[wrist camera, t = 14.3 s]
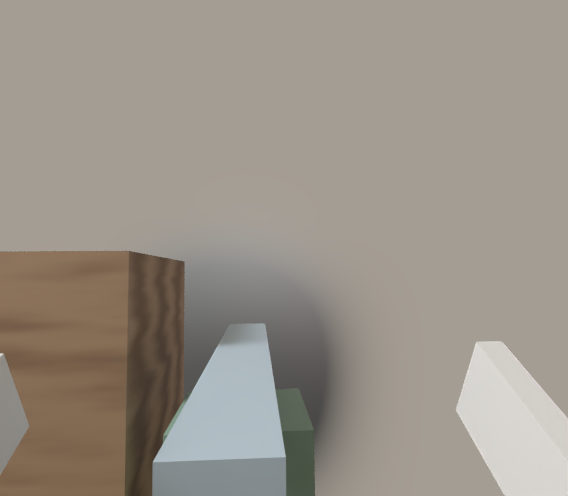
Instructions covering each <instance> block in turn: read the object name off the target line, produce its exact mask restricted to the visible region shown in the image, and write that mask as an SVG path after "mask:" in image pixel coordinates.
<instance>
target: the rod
mask: <svg viewBox="0 0 568 496" xmlns="http://www.w3.org/2000/svg"><path fill="white" fill-rule="evenodd" d="M152 496H286V455H285V449H284V443H283V436H282V430H281V423H280V417H279V411H278V404H277V398H276V392H275V385H274V379H273V372H272V366H271V360H270V353H269V347H268V341H267V335H266V328H265V324H230V325H229V327H228V329H227V331H226V332H225V334H224V336H223V338H222V339H221V341H220V343H219V345H218V347H217V349H216V350H215V352H214V354H213V356H212V358H211V359H210V361H209V363H208V365H207V366H206V368H205V370H204V372H203V373H202V375H201V377H200V379H199V380H198V382H197V384H196V386H195V388H194V389H193V391H192V393H191V395H190V397H189V398H188V400H187V402H186V404H185V405H184V407H183V409H182V411H181V413H180V414H179V416H178V418H177V420H176V422H175V423H174V425H173V427H172V429H171V430H170V432H169V434H168V436H167V438H166V439H165V441H164V443H163V445H162V447H161V448H160V450H159V452H158V454H157V455H156V457H155V459H154V461H153V477H152Z"/></svg>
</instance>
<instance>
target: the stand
mask: <svg viewBox="0 0 568 496" xmlns="http://www.w3.org/2000/svg"><path fill="white" fill-rule="evenodd" d="M0 353H4V356H5V358H6V361H7V364H8V367H9V370H10V373H11V375H12V378H13V381H14V384H15V387H16V390H17V392H18V395H19V398H20V401H21V404H22V406H23V409H24V412H25V415H26V418H27V421H28V423H29V428H28V429H27V431H26V433H25V434H24V436H23V438H22V439H21V441H20V443H19V444H18V446H17V448H16V450H15V451H14V453H13V455H12V456H11V458H10V460H9V461H8V463H7V465H6V466H5V468H4V470H3V471H2V473H1V475H0V496H152V477H153V461H154V459H155V457H156V455H157V454H158V452H159V450H160V448H161V447H162V445H163V435H164V433H165V431H166V430H167V428H168V426H169V424H170V423H171V421H172V419H173V418H174V416H175V414H176V413H177V411H178V409H179V407H180V406H181V404H182V402H183V382H184V380H183V379H184V378H183V377H184V374H183V373H184V262H183V261H178V260H173V259H168V258H162V257H157V256H152V255H146V254H141V253H136V252H131V251H60V252H59V251H58V252H57V251H49V252H48V251H47V252H46V251H44V252H43V251H40V252H0Z"/></svg>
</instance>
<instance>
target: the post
mask: <svg viewBox="0 0 568 496" xmlns="http://www.w3.org/2000/svg"><path fill="white" fill-rule="evenodd" d="M275 392H276V398H277V404H278V411H279V417H280V423H281V430H282V436H283V443H284V449H285V455H286V496H315V483H314V481H315V479H314V429H313V427H312V424H311V421H310V418H309V416H308V413H307V410H306V408H305V405H304V402H303V399H302V397H301V394H300V391H299V389H275ZM191 393H192V392H188V394H187V396H186V397H185V399H184V401H183V402H182V404H181V406H180V407H179V409H178V411H177V413H176V414H175V416H174V418H173V419H172V421H171V423H170V424H169V426H168V428H167V430H166V431H165V433H164V435H163V443H164V441H165V439H166V438H167V436H168V434H169V432H170V430H171V429H172V427H173V425H174V423H175V422H176V420H177V418H178V416H179V414H180V413H181V411H182V409H183V407H184V405H185V404H186V402H187V400H188V398H189V397H190V395H191Z"/></svg>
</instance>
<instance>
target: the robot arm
mask: <svg viewBox="0 0 568 496" xmlns="http://www.w3.org/2000/svg"><path fill="white" fill-rule="evenodd" d="M456 411H457V413H458V414H459V416H460V418H461V420H462V422H463V423H464V425H465V427H466V429H467V430H468V432H469V434H470V436H471V437H472V439H473V441H474V443H475V444H476V446H477V448H478V450H479V452H480V453H481V455H482V457H483V459H484V460H485V462H486V464H487V466H488V467H489V469H490V471H491V473H492V474H493V476H494V478H495V480H496V481H497V483H498V485H499V487H500V489H501V490H502V492H503V494H504V496H568V418H567V417H566V416H565V415H564V414H563V413H562V411H561V410H560V409H559V408H558V407H557V405H556V404H555V403H554V402H553V401H552V400H551V399H550V397H549V396H548V395H547V394H546V393H545V391H544V390H543V389H542V388H541V387H540V386H539V384H538V383H537V382H536V381H535V380H534V379H533V378H532V376H531V375H530V374H529V373H528V372H527V371H526V369H525V368H524V367H523V366H522V365H521V363H520V362H519V361H518V360H517V359H516V358H515V356H514V355H513V354H512V353H511V352H510V351H509V349H508V348H507V347H506V346H505V345H504V344H503V342H502V341H493V342H492V341H491V342H476V345H475V348H474V352H473V355H472V358H471V362H470V365H469V368H468V371H467V375H466V378H465V382H464V385H463V388H462V391H461V395H460V399H459V401H458V405H457V408H456ZM28 428H29V423H28V421H27V418H26V415H25V412H24V409H23V406H22V404H21V401H20V398H19V395H18V392H17V390H16V387H15V384H14V381H13V378H12V375H11V373H10V370H9V367H8V364H7V361H6V358H5V356H4V353H0V475H1V473H2V471H3V470H4V468H5V466H6V465H7V463H8V461H9V460H10V458H11V456H12V455H13V453H14V451H15V450H16V448H17V446H18V444H19V443H20V441H21V439H22V438H23V436H24V434H25V433H26V431H27V429H28Z"/></svg>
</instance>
